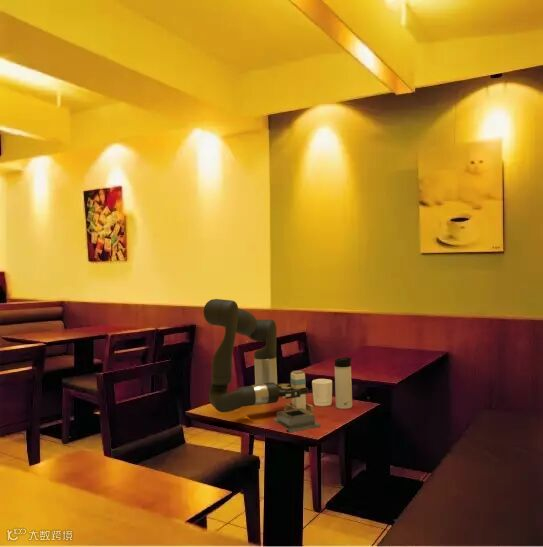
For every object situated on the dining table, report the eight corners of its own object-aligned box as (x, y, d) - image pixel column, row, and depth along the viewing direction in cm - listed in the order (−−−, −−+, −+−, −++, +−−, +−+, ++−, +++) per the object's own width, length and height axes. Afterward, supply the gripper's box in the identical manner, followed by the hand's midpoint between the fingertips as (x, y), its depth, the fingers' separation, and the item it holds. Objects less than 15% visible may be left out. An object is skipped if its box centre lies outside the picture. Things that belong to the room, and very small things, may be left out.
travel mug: (349, 412, 208) (347, 359, 208) (333, 410, 212) (331, 358, 211) (355, 408, 214) (354, 356, 213) (339, 406, 217) (338, 355, 217)
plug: (291, 409, 211) (290, 371, 211) (301, 407, 213) (300, 370, 213) (296, 412, 208) (295, 373, 207) (306, 410, 209) (305, 371, 209)
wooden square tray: (283, 411, 213) (283, 403, 212) (304, 408, 216) (303, 400, 216) (293, 417, 204) (293, 409, 204) (315, 413, 208) (314, 405, 208)
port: (271, 422, 199) (271, 411, 199) (301, 417, 204) (301, 406, 204) (289, 432, 186) (288, 420, 186) (320, 427, 191) (320, 415, 191)
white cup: (332, 403, 222) (332, 378, 221) (333, 409, 214) (332, 383, 213) (313, 403, 222) (312, 379, 222) (312, 409, 214) (311, 383, 214)
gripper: (271, 387, 198) (311, 381, 204) (255, 380, 211) (294, 375, 217) (271, 408, 198) (312, 402, 205) (256, 399, 211) (295, 394, 218)
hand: (303, 388), depth 211 cm, fingers open, 7 cm apart
